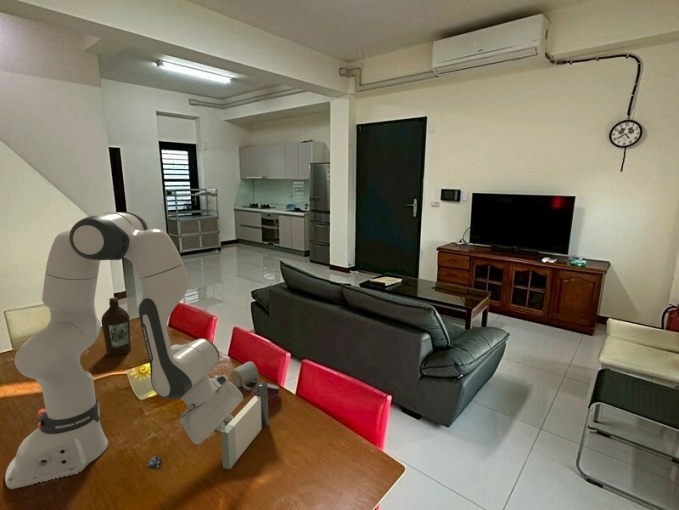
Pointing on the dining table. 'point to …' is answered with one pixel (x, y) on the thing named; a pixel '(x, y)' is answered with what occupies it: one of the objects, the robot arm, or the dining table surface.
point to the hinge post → (263, 402)
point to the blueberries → (155, 462)
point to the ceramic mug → (245, 375)
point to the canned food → (269, 393)
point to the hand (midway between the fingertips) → (233, 432)
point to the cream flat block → (241, 432)
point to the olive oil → (116, 329)
